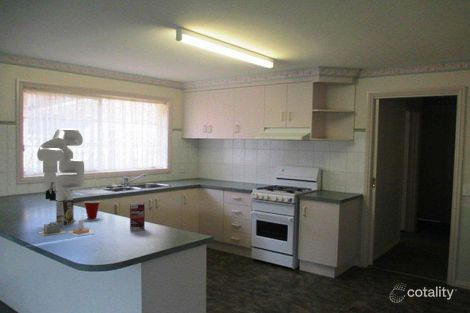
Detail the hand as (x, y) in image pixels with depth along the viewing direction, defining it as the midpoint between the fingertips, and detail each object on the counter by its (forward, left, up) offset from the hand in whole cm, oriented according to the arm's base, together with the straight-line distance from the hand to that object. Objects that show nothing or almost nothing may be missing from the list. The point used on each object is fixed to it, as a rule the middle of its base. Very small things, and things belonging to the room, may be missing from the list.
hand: (50, 199), depth 213 cm
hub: (+10, +13, -20) cm, 26 cm away
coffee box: (-19, +13, -20) cm, 31 cm away
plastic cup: (-32, +35, -20) cm, 52 cm away
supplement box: (+23, +42, -20) cm, 52 cm away
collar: (0, 0, -19) cm, 19 cm away
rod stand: (0, 0, -20) cm, 20 cm away
